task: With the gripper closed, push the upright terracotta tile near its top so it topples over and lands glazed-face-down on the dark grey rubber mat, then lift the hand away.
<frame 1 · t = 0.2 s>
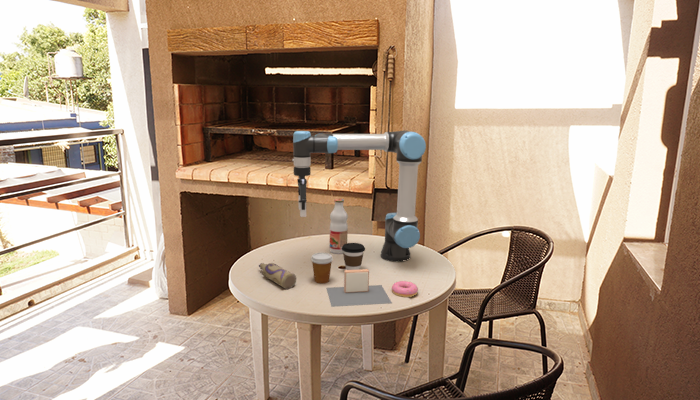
hand: (302, 212, 204), 28 cm above the table, tool pointing down, fingers open, 13 cm apart
fruit juice: (338, 251, 238), on the table
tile: (356, 291, 187), point 1 cm above the table, touching mat
mat: (357, 296, 183), on the table
doughnut: (404, 293, 188), on the table
disposable coffee cup: (321, 282, 198), on the table
decorative bottle: (277, 280, 199), on the table
coffee cup: (352, 270, 212), on the table
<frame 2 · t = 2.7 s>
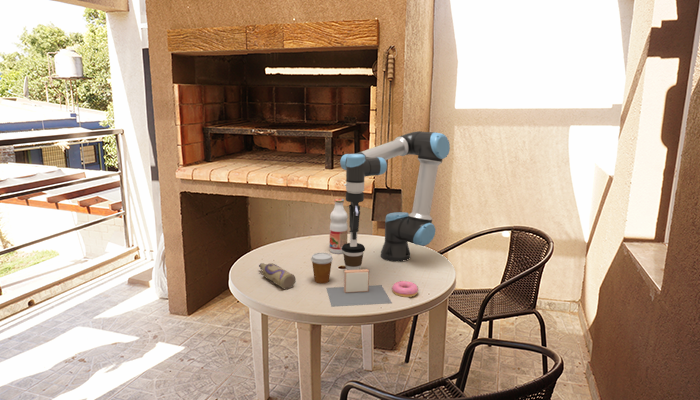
hand: (353, 246, 191), 18 cm above the table, tool pointing down, fingers closed
nothing on the table moved.
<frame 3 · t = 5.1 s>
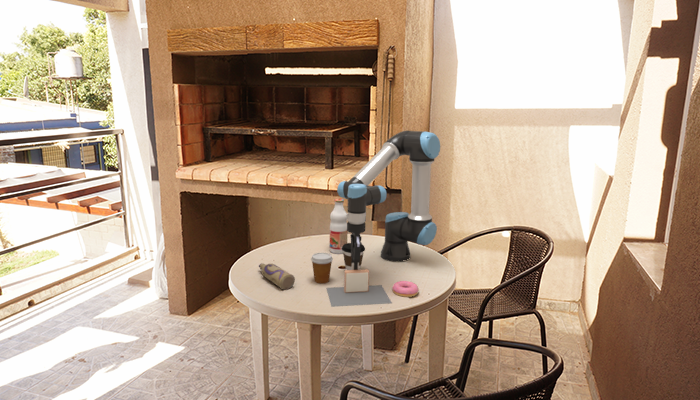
hand: (354, 276, 188), 6 cm above the table, tool pointing down, fingers closed
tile: (356, 291, 187), point 1 cm above the table, touching gripper, mat
everything else where it was.
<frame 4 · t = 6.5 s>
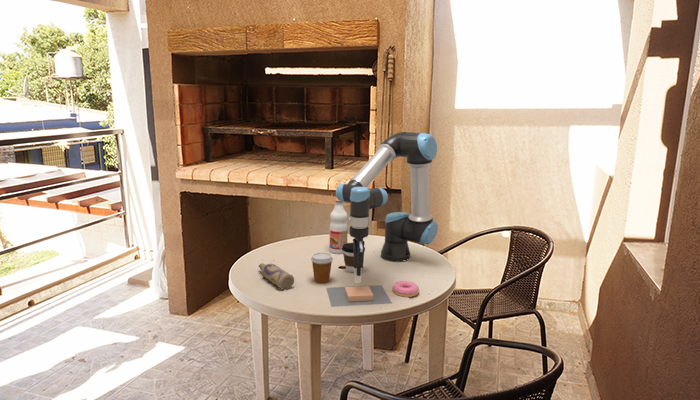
hand: (357, 281, 183), 6 cm above the table, tool pointing down, fingers closed
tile: (356, 289, 186), point 2 cm above the table, tilted 90°, touching mat
everything else where it was.
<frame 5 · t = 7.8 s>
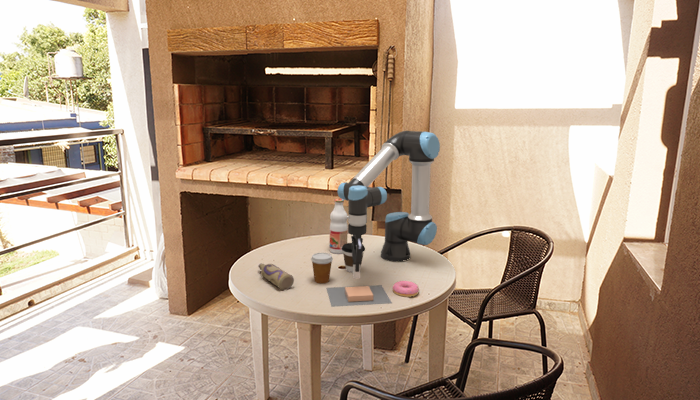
hand: (356, 277, 188), 5 cm above the table, tool pointing down, fingers closed
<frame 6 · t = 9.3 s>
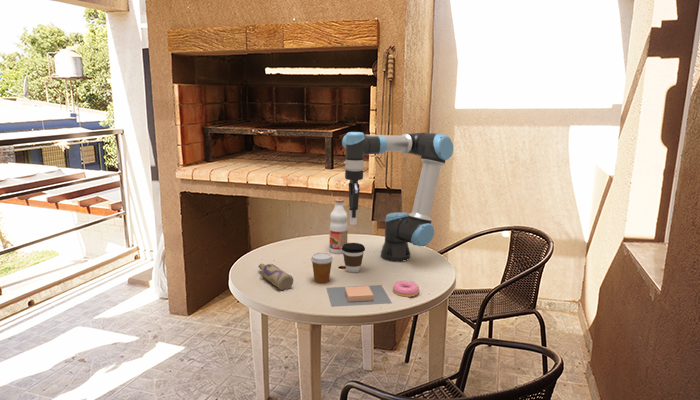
hand: (353, 224, 192), 26 cm above the table, tool pointing down, fingers closed
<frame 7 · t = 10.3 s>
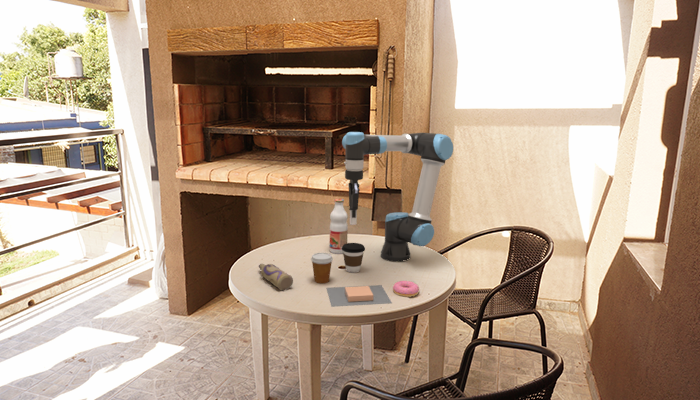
hand: (353, 224, 192), 26 cm above the table, tool pointing down, fingers closed
at the end: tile tilted 90°; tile inside the target area (4.4 cm from its centre), point 1.8 cm above the table; the gripper is holding nothing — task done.
